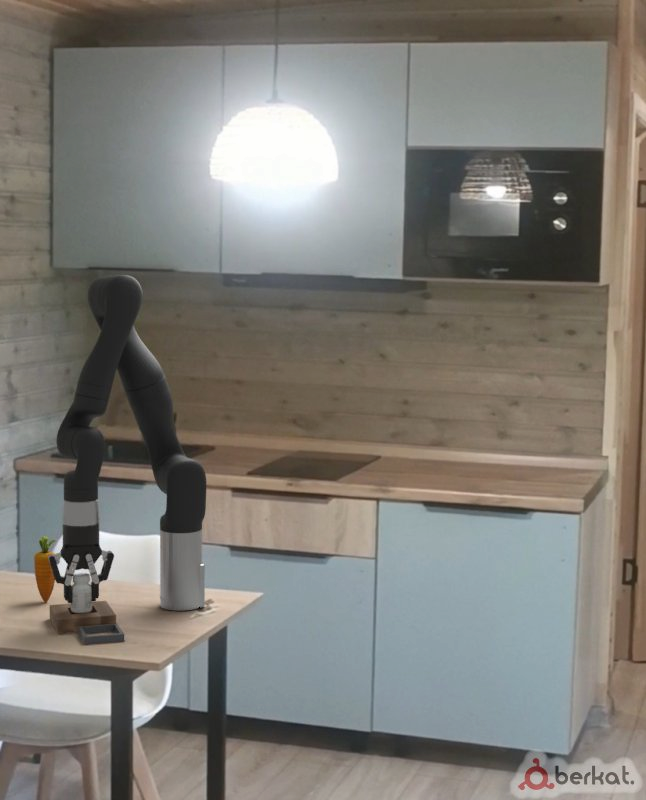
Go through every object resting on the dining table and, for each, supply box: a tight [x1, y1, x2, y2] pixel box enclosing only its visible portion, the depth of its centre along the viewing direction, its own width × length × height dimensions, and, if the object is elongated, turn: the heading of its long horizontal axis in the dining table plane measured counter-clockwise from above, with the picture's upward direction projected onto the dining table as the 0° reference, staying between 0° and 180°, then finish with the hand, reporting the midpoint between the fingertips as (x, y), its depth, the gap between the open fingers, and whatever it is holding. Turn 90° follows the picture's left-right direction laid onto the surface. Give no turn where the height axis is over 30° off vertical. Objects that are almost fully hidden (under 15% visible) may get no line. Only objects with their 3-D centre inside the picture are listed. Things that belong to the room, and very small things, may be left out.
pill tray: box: [77, 623, 125, 646], centre depth 269 cm, size 8×8×2 cm
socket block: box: [49, 600, 117, 635], centre depth 279 cm, size 12×12×3 cm
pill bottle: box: [71, 572, 93, 613], centre depth 278 cm, size 4×4×8 cm
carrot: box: [33, 535, 56, 603], centre depth 295 cm, size 5×5×15 cm
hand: (81, 600), depth 278 cm, fingers closed on pill bottle, 4 cm apart
